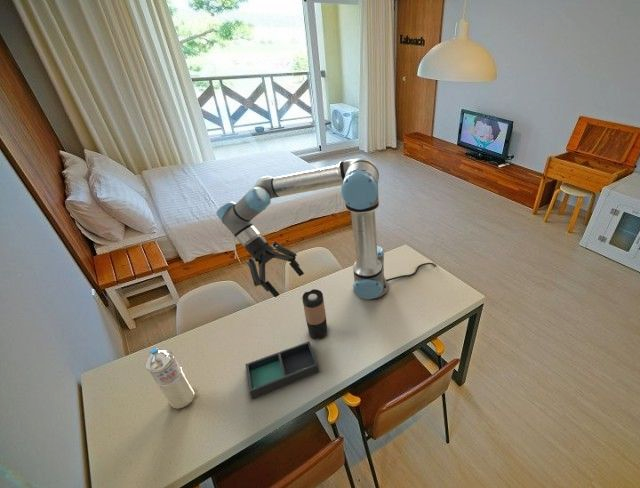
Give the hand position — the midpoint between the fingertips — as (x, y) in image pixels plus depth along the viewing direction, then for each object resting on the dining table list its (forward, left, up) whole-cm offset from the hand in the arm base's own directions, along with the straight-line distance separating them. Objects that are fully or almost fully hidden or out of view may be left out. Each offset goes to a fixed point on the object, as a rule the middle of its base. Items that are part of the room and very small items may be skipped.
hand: (290, 285), depth 121 cm
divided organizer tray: (+10, +20, -21) cm, 31 cm away
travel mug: (-6, +8, -21) cm, 24 cm away
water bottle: (+41, +16, -21) cm, 49 cm away
